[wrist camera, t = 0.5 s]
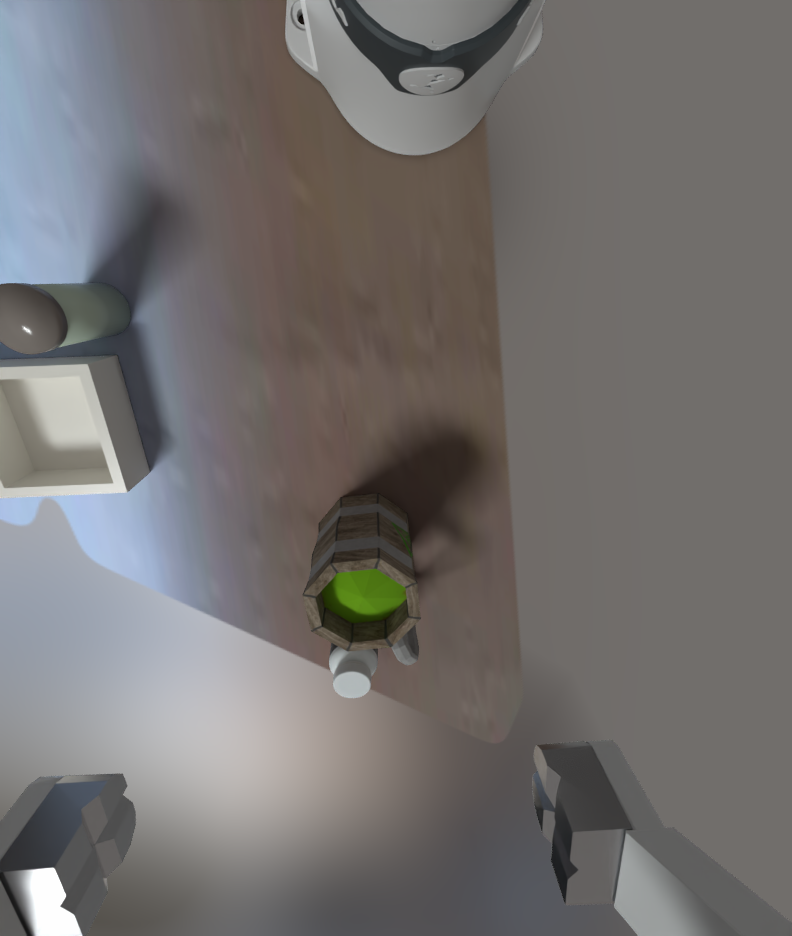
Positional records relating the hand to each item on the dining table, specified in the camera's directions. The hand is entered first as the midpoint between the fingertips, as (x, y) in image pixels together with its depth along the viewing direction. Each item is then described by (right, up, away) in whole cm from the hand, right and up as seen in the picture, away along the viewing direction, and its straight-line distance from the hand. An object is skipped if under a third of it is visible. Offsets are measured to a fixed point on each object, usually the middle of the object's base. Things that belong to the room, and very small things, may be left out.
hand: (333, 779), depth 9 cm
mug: (-1, -3, +42) cm, 42 cm away
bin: (-30, +11, +34) cm, 47 cm away
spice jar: (-25, +20, +31) cm, 44 cm away
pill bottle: (-4, -12, +46) cm, 48 cm away
